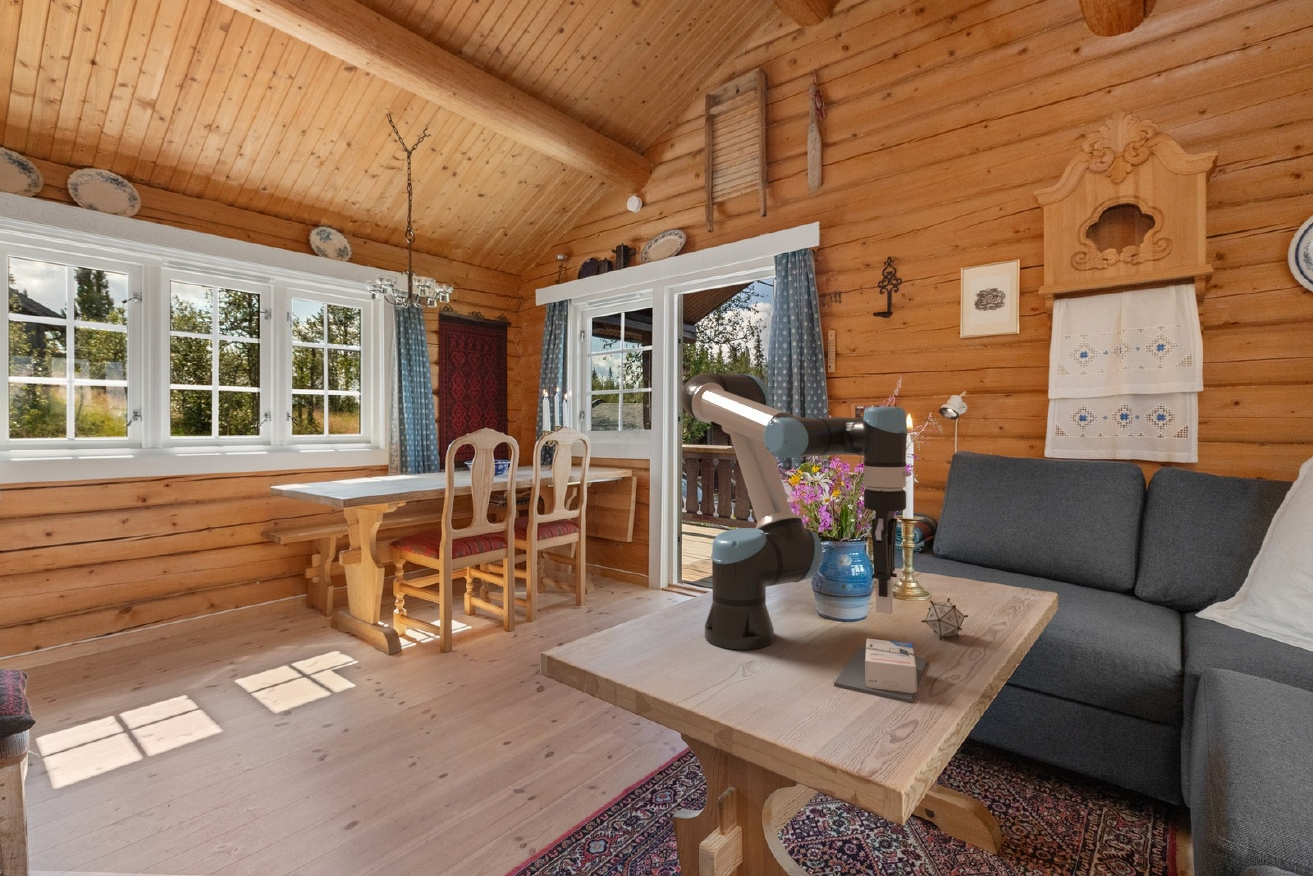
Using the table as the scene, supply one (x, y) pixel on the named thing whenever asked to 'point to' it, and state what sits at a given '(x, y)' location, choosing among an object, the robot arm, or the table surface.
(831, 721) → the table surface
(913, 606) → the table surface
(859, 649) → the mat
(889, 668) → the ink box
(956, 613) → the game die
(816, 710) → the table surface
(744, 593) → the robot arm
